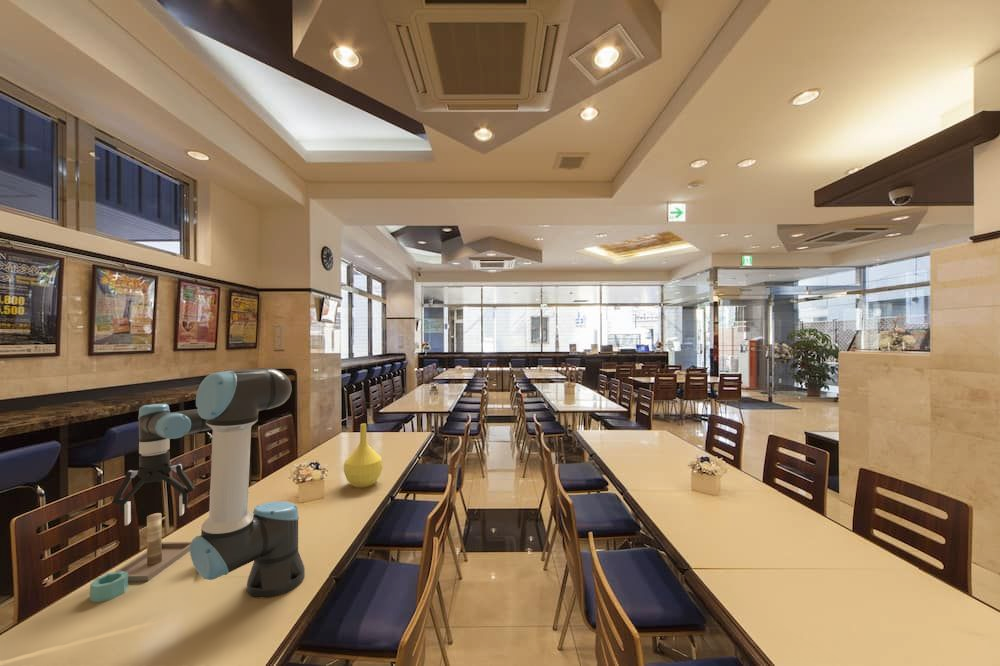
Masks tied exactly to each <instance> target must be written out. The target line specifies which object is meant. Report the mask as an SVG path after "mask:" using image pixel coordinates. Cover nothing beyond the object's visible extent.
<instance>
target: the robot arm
mask: <svg viewBox="0 0 1000 666" xmlns="http://www.w3.org/2000/svg"><path fill="white" fill-rule="evenodd" d="M292 391H293V389H292V382H291V380H290V378H289V377H288V376H287V375H286V374H285V373H283V372H282V371H281V370H279V369H275V368H270V367H265V368H263V367H262V368H255V369H254V368H253V369H239V370H238V369H237V370H236V369H235V370H225V371H219V372H213V373H210V374H208V375H207V376H205V377H204V379H203V380H202V381H201V382H200V384H199V386H198V389H197V391H196V397H195V407H196V408H195V409H188V410H182V411H181V410H180V411H174V412H171V410H170V406H169V404H168V403H154V404H152V403H151V404H145V405H142V406H140V408H139V409H138V410H139V411H138V417H137V419H138V439H139V440H138V442H139V444H138V453H139V456H138V467H139V469H138V470H133V469H130V470H128V471H126V473H125V478H124V481H123V482H122V484H121V486H120V487H119V488H118V491H117V492H116V494H115V496H114V497H113V499H112V500H111V504H118V505H120V506H119V508H120V511H119V512H120V513H119V514H120V515H122V516H123V515H124V526H129V524H130V523H131V521H132V513H131V512H132V510H131V509H132V506H131V505H132V504H131V501H129V499H130V498H131V497H132V496H133V495H134V494H135V493H136V492H137V490H139V489H140V487H142V485H143V484H145V483H146V484H152V483H160V482H161V481H163V482H165V483H168V484H169V485H170V486H171V487H173V488H174V489H175V490H176V491H177V492H179V493H180V494H179V495H178V497H179V499H178V502H179V505H178V507H179V509H178V510H179V514H178V515H179V517H181V516H183V515H184V513H185V505H186V504H187V503H188V502H189V493H191V492H193V491H194V489H196V487H195V485H194V483H193V482H192V481H191V479H190V477H189V476H188V474H187V473H186V472H185V470H184V466H183V463H180V462H179V463H177V464H176V465H171V455H170V454H171V452H170V451H169V450H170V448H171V447H170V445H171V444H170V443H171V442H170V440H172V439H173V440H175V439H179V438H183V437H184V436H185V435H189V434H196V433H199V432H200V433H201V432H204V431H205V432H206V431H210V430H212V436H211V437H212V439H211V462H210V465H211V466H210V487H209V513H208V514H209V515H208V518H207V519H206V520H205V521H203V523H202V525H201V533H200V534H201V535H197V536H196V537H194V538H192V540H191V541H190V542H191V544H190V551H189V553H190V554H189V555H190V559H191V562H192V565H193V567H194V568H195V570H196V572H197V573H198V575H199V576H200V577H201V578H203V579H205V580H207V581H211V580H216V579H218V578H220V577H223V576H226V575H229V573H231V572H233V571H235V570H237V569H239V568H242V567H243V566H246V565H248V564H250V563H252V562H253V563H252V566H251V569H250V572H249V575H248V578H247V582H246V592H247V594H248V596H250V597H252V598H257V599H269V598H275V597H278V596H281V595H284V594H286V593H288V592H290V591H292V590H293V589H296V588H297V587H298V586H299V585H301V583H302V582H303V581H304V579H305V575H306V572H305V565H304V562H303V560H302V557H301V555H300V552H299V519H300V518H299V510H298V509H299V508H298V506H297V505H296V504H295V503H293V502H291V501H285V500H283V501H281V500H279V501H269V502H264V503H261V504H258V505H257V506H255V507H254V509H253V511H252V512H251V511H248V507H249V505H248V504H249V482H250V465H251V464H250V459H251V440H252V438H251V437H252V426H253V425H255V424H256V423H257V422H258V421H259V412H260V411H264V410H271V409H274V408H277V407H280V406H282V405H283V404H285V403H286V402H287V401H288V400H289V399H290V397H291V394H292ZM171 471H173V472H174V473H176V474H177V476H178V477H179V478H180V480H181V481H182V482H183V484H182V483H181V482H179V481H178V480H177V479H175V477H173V476H172V474H170V472H171ZM136 476H138V477H139V478H141V479H140V480H138V482H137V483H136V484H135V486H134V487H132V488H131V490H130V491H129V492H128V493H127V494H126V495H124V493H125V491H126V490H127V488H128V486H129V484H130V483H131V481H132V479H134V478H135V477H136ZM123 496H124V497H123Z"/></svg>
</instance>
